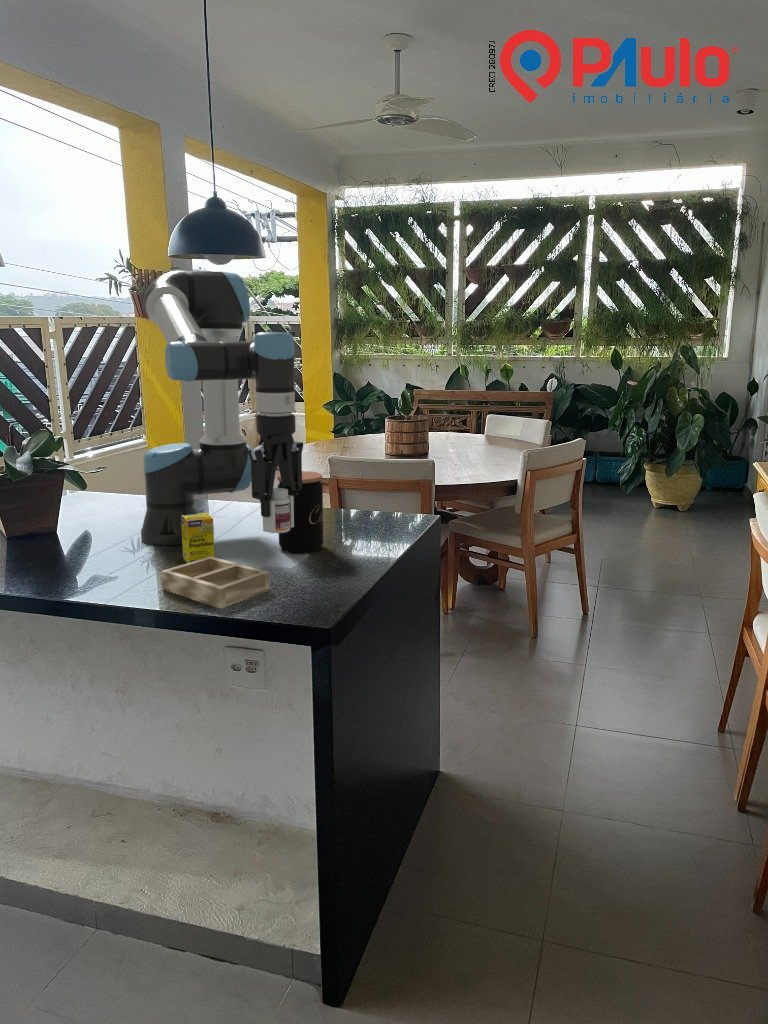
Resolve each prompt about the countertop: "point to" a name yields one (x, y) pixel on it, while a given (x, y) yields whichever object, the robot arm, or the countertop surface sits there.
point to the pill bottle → (281, 509)
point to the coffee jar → (305, 517)
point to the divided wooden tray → (215, 581)
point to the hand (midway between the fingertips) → (278, 528)
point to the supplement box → (197, 537)
